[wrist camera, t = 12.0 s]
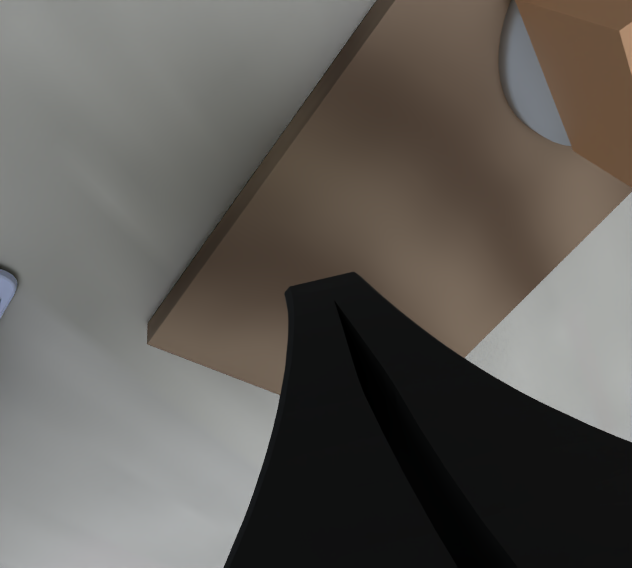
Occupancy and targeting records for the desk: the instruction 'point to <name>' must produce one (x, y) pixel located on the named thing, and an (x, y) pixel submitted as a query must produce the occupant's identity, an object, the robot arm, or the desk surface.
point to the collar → (588, 74)
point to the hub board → (398, 192)
